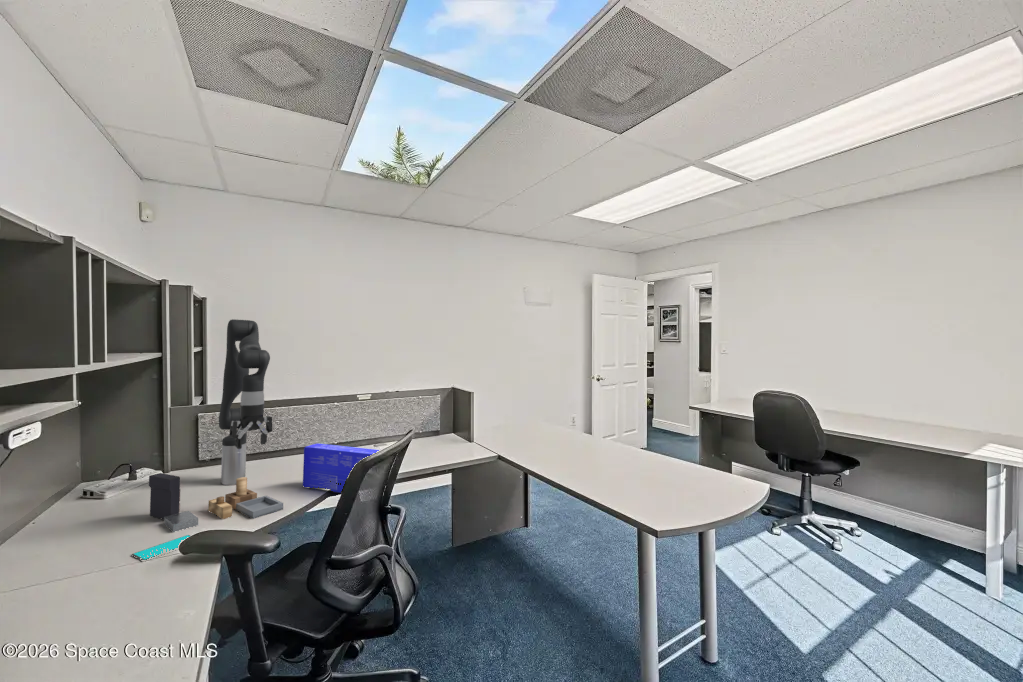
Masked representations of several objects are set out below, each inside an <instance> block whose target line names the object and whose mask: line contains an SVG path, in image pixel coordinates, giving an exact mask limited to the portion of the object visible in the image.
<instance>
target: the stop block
mask: <svg viewBox="0 0 1023 682" xmlns="http://www.w3.org/2000/svg"><path fill="white" fill-rule="evenodd" d="M207 504H208V509H207V512H209V511H210V513H211V512H212V513H211V514H213V513H214V514H216V515H217V516H216V515H215V516H216V517H218V516H219V517H218V518H220V519H222V520H225V519H228V517H229V518H232V517H233V508H232V505H230V504H228V503H226V502H225V496H218V497H216V498H212V499H209V500H208V503H207ZM214 514H213V515H214ZM231 516H232V517H231Z"/></svg>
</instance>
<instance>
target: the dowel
mask: <svg viewBox="0 0 1023 682" xmlns="http://www.w3.org/2000/svg"><path fill="white" fill-rule="evenodd" d="M247 489H248V477H247V476H245V477H241V478H237V479H236V484H235V492H236V496H238V497H239V496H242V495H246V494H247Z"/></svg>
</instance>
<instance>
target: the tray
mask: <svg viewBox="0 0 1023 682" xmlns="http://www.w3.org/2000/svg"><path fill="white" fill-rule="evenodd" d="M236 510H237V512H238V511H239V513H240V512H241V514H242V513H243V514H242V515H244V514H245V516H246V515H247V516H246V517H249V518H251V519H253V520H254V519H256V518H257V519H258V518H261V517H263V516H267V515H270V514H274V513H276V512H280V511H283V510H284V502H282V501H280V500H277V499H275V498H273V497H270V496H268V495H262V496H260V497H257V498H255V499H251V500H248V501H244V502H240V503H237V504H236V509H235V511H236Z"/></svg>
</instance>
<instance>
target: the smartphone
mask: <svg viewBox="0 0 1023 682" xmlns="http://www.w3.org/2000/svg"><path fill="white" fill-rule="evenodd" d="M190 536H191V535H190V534H186V535H183V536H181V537H178V538H174V539H172V540H168V541H166V542H162V543H159V544H157V545H154V546H152V547H148V548H145V549H143V550H140V551H136V552H134V553H132V554H131V556H132V555H133V556H135V557H138V558H139V559H140V558H142V559H141V560H147V559H149V558H150V557H151V556H152V557H155V556H154V553H155V555H156V554H157V555H159V554H161V551H162V553H163V549H166V552H167V548H168V549H169V551H170V550H171V549H172V550H174V549H175V548H178V545H179V543H180V542H181V540H184V539H186V538H187V537H190ZM164 547H165V548H164ZM160 548H161V549H160ZM162 548H163V549H162ZM156 549H157V550H158V551H156ZM152 550H153V552H152ZM150 552H151V554H152V555H150ZM143 554H144V555H143ZM147 555H148V556H149V557H147ZM157 555H156V556H157ZM140 556H141V557H140ZM144 557H145V558H144ZM152 557H151V558H152Z"/></svg>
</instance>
